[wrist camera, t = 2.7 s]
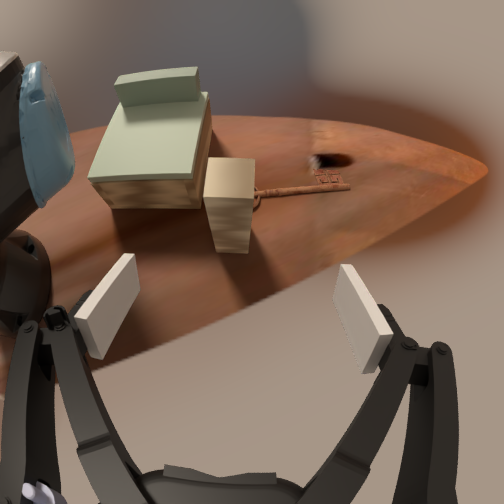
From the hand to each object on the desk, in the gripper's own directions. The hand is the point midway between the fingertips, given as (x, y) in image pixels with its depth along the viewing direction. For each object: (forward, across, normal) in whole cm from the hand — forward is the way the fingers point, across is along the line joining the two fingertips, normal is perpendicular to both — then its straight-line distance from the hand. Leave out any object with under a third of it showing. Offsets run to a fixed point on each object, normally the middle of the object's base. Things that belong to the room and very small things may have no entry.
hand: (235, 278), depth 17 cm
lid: (+16, -11, +8) cm, 21 cm away
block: (+14, -1, -3) cm, 14 cm away
